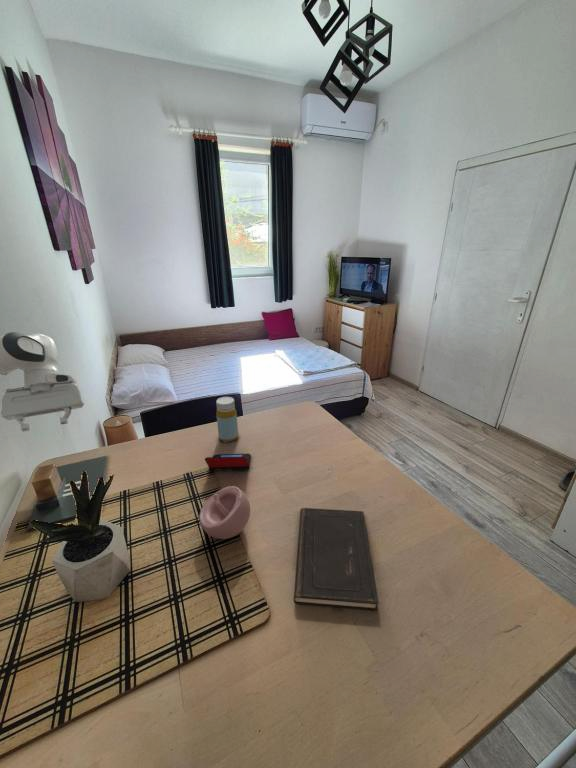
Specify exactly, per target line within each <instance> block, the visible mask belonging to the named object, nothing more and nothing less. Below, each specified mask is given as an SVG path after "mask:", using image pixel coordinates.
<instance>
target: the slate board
mask: <svg viewBox="0 0 576 768" xmlns="http://www.w3.org/2000/svg"><path fill="white" fill-rule="evenodd" d="M107 461H108V456H107V455H103V456H98V457H95V458H89V459H85V460H80V461H75V462H73V463H72V462H71V463H67V464H63V465H58V466H56V468H57V470H58V473H59V476H60V478H62V477H64V478H65V481H66V485H65V488H64V492H63V495H62V499H61V503H60V505H58V506H54V507H51V508H47V509H43V510H39V511H38V510H37V508H36V506H35V505H34V508H33V511H32V514H31V517H30V520H29V521H28V524H27V528H26V531H27V532H31V531H35V530H36V529H34V528H33V526H32V524H31V522H32V521H33V520H39V521H44V522H48V523H53V525H56V524H59V523H64V522H66V521H70V520H74V519H77V517H76V505H75V500H74V498H73V495H72V492H71V489H70V481H74V482H75V483H76V485H77V487H78V488H80V483H81V475H82V472H83V471H86V473H87V475H88V482H89V492H90V497H91V496H92V494H93V492H94V490H95V487H96V485H97V482H98V479H99V478H100V477H103V478H104V480H105V478H106V468H107V463H108V462H107Z"/></svg>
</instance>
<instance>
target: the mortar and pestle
mask: <svg viewBox="0 0 576 768" xmlns="http://www.w3.org/2000/svg"><path fill="white" fill-rule="evenodd" d="M250 516H251V505H250V501H249V499H248V497H247V494H245V492H244V491H243V490H242V489H240V488H239V487H237V486H234V485H232V486H231V485H229V486H226V487H223V488H221V489H219V490H218V491H216V492H215V493H214V494H212V495H211V496H210V497H209V498H208V499H207V500H206V502H205V503H204V504H203V506H202V508H201V510H200V512H199V520H198V521H199V524H200V526H201V527H202V529H203V530H204V532H205V533H206V534H207V535H209V536H210V537H211V538H214V539H218V540H228V539H231V538H233V537H236V536H237V535H239V534H240V533H241V532H242V531H243V530H244V529H245V528H246V526H247V525H248V523H249V520H250Z"/></svg>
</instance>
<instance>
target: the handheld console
mask: <svg viewBox="0 0 576 768" xmlns="http://www.w3.org/2000/svg"><path fill="white" fill-rule="evenodd" d="M251 457H252V455H251V454H250V453H216V454H214V455H212V456H211V457H205V458H204V461H205V463H206V465H207V467H208V470H209V471H211V472H213V471H214V472H215V471H228V470H231V471H240V470H241V471H243V470H245V471H247V470H249V469H250V466H251Z"/></svg>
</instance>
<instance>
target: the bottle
mask: <svg viewBox="0 0 576 768" xmlns="http://www.w3.org/2000/svg"><path fill="white" fill-rule="evenodd" d="M215 405H216V412H215V415H216V424H217V433H218V438H219V440H220V441H221V442H224V443H231V442H234V441H235V440H237V439H238V438H239V427H238V415H237V409H236V406H235V399H234V397H232V396H222V397H221V396H220V397H219V398H217V399H216V401H215Z"/></svg>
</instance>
